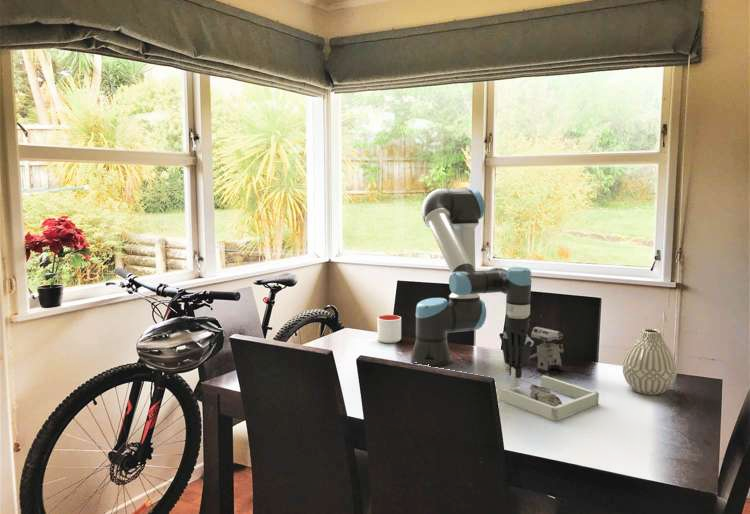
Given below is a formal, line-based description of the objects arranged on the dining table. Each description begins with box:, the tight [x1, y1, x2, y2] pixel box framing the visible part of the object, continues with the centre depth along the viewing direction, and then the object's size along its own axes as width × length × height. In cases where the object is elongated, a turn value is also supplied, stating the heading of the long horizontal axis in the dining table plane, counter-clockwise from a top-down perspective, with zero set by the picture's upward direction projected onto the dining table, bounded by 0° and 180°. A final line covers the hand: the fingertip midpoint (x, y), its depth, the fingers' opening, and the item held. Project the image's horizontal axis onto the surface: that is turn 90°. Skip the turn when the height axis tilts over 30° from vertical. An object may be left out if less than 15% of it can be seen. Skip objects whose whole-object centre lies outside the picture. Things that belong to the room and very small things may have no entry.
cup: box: [377, 314, 402, 344], centre depth 255 cm, size 10×10×10 cm
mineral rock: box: [529, 384, 563, 407], centre depth 184 cm, size 15×8×4 cm, turn 178°
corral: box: [499, 374, 600, 422], centre depth 186 cm, size 20×21×4 cm
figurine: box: [529, 326, 565, 375], centre depth 216 cm, size 9×12×15 cm
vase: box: [622, 328, 678, 396], centre depth 194 cm, size 16×16×20 cm
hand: (515, 386), depth 197 cm, fingers closed
